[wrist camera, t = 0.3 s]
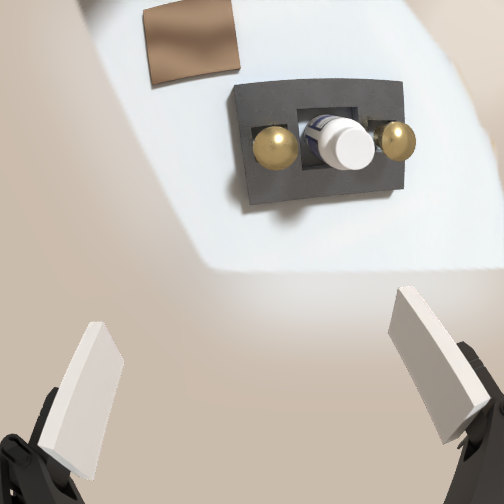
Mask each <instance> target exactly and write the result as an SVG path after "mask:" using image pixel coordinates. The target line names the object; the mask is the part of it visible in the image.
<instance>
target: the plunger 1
mask: <svg viewBox="0 0 504 504" xmlns="http://www.w3.org/2000/svg"><path fill="white" fill-rule="evenodd" d="M298 150H299V149H298V142H297V140H296V138H295V136H294V135H293V134H292V133H291V132H290V131H289V130H287V129H285V128H283V127H279V126H272V127H268V128H265V129H263V130H262V131H261V132H260V133H259V134H258V135H257V136H256V138H255V140H254V143H253V152H254V155H255V158H256V160H257V161H258V162H259V164H260V165H262V166H263V167H265V168H267V169H269V170H282V169H285V168H287V167H289V166H290V165H291V164H292V163H293V162H294V161H295V159H296V158H297V155H298Z"/></svg>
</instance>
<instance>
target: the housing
mask: <svg viewBox="0 0 504 504" xmlns="http://www.w3.org/2000/svg"><path fill="white" fill-rule="evenodd" d="M234 91H235V98H236V105H237V112H238V120H239V127H240V134H241V142H242V149H243V156H244V164H245V171H246V179H247V186H248V194H249V201H250V205H255V204H263V203H270V202H278V201H287V200H295V199H304V198H313V197H322V196H331V195H341V194H352V193H362V192H374V191H386V190H399V189H404V172H405V160H404V161H394V160H392V159H390V158H388V157H387V156H385V155H384V153H383V152H382V150H381V149H375V152H374V156H373V159H372V160H371V162H370V163H369V164H368V165H367V166H366V167H364V168H362V169H359V170H351V169H350V170H339V169H336V168H333V167H331V166H330V165H328V164H325V165H314V166H303V167H302V162H301V150H300V138H299V127H298V117H297V109H304V108H324V107H351V108H352V120H354V121H356V122H358V123H359V124H360V125H361V126H362V127H363V128H364V129H365V131H366V132H367V133H368V120H389V123H390V122H395V121H396V122H402V123H405V116H404V95H403V82H401V81H389V80H374V79H345V78H325V79H295V80H279V81H267V82H257V83H248V84H239V85H234ZM279 124H285V129H287V130H289V131H290V132H291V133H292V134H293V135H294V136H295V138H296V140H297V142H298V149H299V150H298V155H297V158H296V159H295V161H294V162H293V163H292V164H291V165H290V166H289V167H287V168H285V169H282V170H269V169H267V168H265V167H263V166H262V165H260V164H259V162H258V161H257V160H256V159H255V156H254V152H253V140H252V132H251V128H252V127H260V126H269V125H279Z"/></svg>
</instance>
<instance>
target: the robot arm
mask: <svg viewBox="0 0 504 504" xmlns="http://www.w3.org/2000/svg"><path fill="white" fill-rule="evenodd" d="M388 334H389V336H390V337H391V339H392V341H393V343H394V345H395V347H396V349H397V350H398V352H399V354H400V356H401V358H402V360H403V362H404V363H405V365H406V368H407V369H408V371H409V373H410V375H411V377H412V379H413V381H414V383H415V385H416V387H417V389H418V391H419V393H420V395H421V397H422V399H423V402H424V404H425V406H426V408H427V410H428V412H429V414H430V416H431V419H432V421H433V423H434V425H435V427H436V429H437V432H438V434H439V436H440V439H441V440H442V443H443V445H444V444H446V443H448V442H450V441H452V440H454V439H456V438H459V437H460V435H461V434H462V433H463V432H464V431H466V433H467V436H466V437H465V438H464V440H463V441H462V442H461V443H460V444H459V445H458V447H457V449H460V448H461V447H462V446H463V449H462V452H461V456H460V459H459V462H458V465H457V468H456V471H455V474H454V477H453V480H452V483H451V486H450V488H449V491H448V493H447V496H446V499H445V501H444V503H443V504H504V394H503V393H502V392H501V391H500V389H499V387H498V386H497V384H496V383H495V381H494V380H493V378H492V377H491V375H490V373H489V372H488V370H487V369H486V367H484V365H483V363H482V361H481V360H480V359H479V357H478V356H477V354H476V353H475V351H474V350H473V349H472V348H471V347H470V346H469V345H467V344H466V343H465V342H460V343H457V344H456V343H455V342H454V341H453V339H452V338H451V336H450V335H449V333H448V332H447V331H446V329H445V328H444V327H443V325H442V324H441V322H440V321H439V319H438V318H437V317H436V315H435V314H434V313H433V312H432V310H431V309H430V307H429V306H428V305H427V304H426V302H425V301H424V300H423V298H422V297H421V296H420V294H419V293H418V292H417V291H416V289H415V288H414V287H413V286H412V285H410V286H405V287H399V288H398V290H397V296H396V300H395V305H394V309H393V314H392V318H391V323H390V327H389V331H388ZM124 363H125V362H124V360H123V359H122V357H121V355H120V353H119V351H118V349H117V348H116V345H115V344H114V342H113V340H112V338H111V336H110V334H109V332H108V330H107V328H106V326H105V324H104V322H90V323H89V325H88V327H87V329H86V331H85V333H84V335H83V337H82V339H81V341H80V344H79V346H78V347H77V349H76V352H75V354H74V356H73V358H72V360H71V362H70V365H69V367H68V369H67V371H66V374H65V376H64V378H63V381H62V383H61V385H60V387H59V388H57V387H54V388H53V389H52V390H51V392H50V393H49V394H48V395H47V397H46V399H45V402H44V404H43V408H42V409H41V412H40V416H39V417H38V419H37V422H36V424H35V427H34V429H33V433H32V435H31V438H30V441H29V443H28V444H27V443H26V442H25V441H24V440H23V439H22V438H21V437H19V436H18V435H17V434H9V435H7V436H6V437H4V438H3V440H2V441H1V443H0V504H85V503H84V501H83V499H82V497H81V495H80V493H79V491H78V490H77V488H76V486H75V484H74V481H73V480H72V479H71V477H70V472H72V473H74V474H75V475H77V476H78V477H81V478H85V479H90V480H94V478H95V473H96V468H97V463H98V459H99V455H100V450H101V446H102V442H103V438H104V434H105V430H106V426H107V422H108V418H109V415H110V411H111V407H112V403H113V400H114V397H115V393H116V390H117V386H118V383H119V380H120V376H121V373H122V370H123V366H124ZM10 489H11V490H13V496H12V495H11V494H10Z"/></svg>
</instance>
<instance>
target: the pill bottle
mask: <svg viewBox="0 0 504 504" xmlns="http://www.w3.org/2000/svg"><path fill="white" fill-rule="evenodd" d="M304 138H305V143H306V145H307V147H308V149H309V150H310V151H311V152H312V153H313V154H314V155H316V156H317V157H318V158H320V159H321V160H323V161H324V162H325V163H327V164H328V165H330V166H331V167H333V168H336V169H339V170H350V169H351V170H359V169H362V168H364V167H366V166H367V165H368V164H369V163H370V162H371V160H372V159H373V156H374V152H375V146H374V142H373V139H372V138H371V136H370V135H369V134H368V133H367V132H366V131H365V129H364V128H363V127H362V126H361V125H360V124H359V123H358V122H356V121H354V120H352V119H348V118H343V117H338V116H333V115H319V116H316V117H315V118H313V119H312V120H311V121H310V122H309V123H308V125H307V126H306V129H305V134H304Z"/></svg>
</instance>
